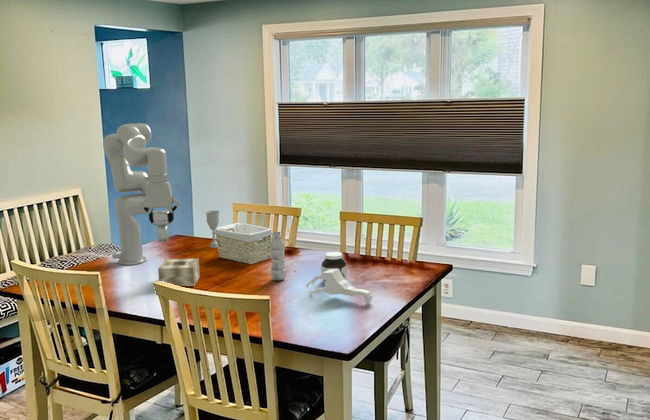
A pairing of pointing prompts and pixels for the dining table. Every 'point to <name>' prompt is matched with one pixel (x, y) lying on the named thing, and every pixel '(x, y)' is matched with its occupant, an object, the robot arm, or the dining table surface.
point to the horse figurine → (339, 285)
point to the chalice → (213, 224)
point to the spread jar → (334, 263)
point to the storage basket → (244, 242)
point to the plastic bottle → (277, 257)
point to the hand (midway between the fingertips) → (161, 222)
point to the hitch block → (180, 271)
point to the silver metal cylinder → (161, 224)
